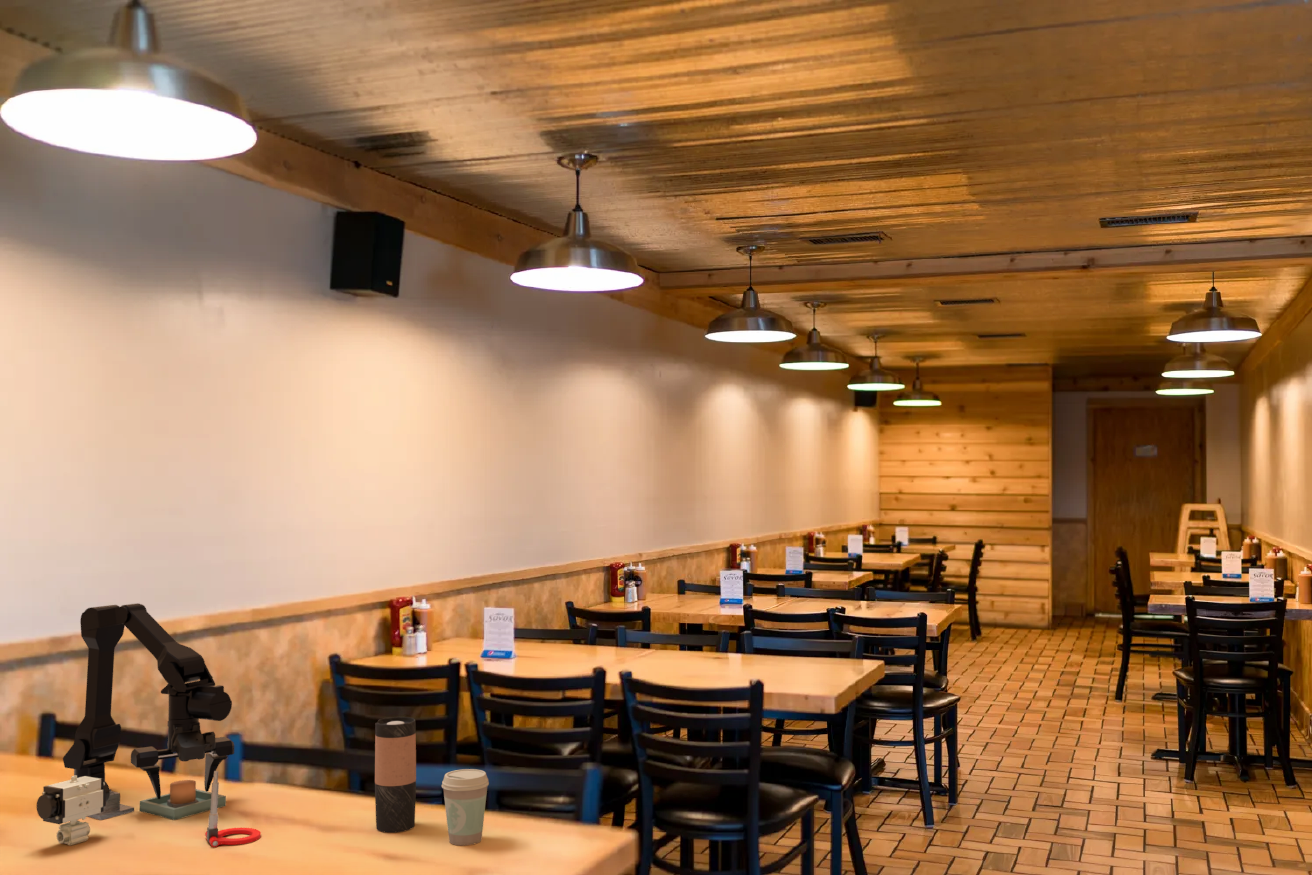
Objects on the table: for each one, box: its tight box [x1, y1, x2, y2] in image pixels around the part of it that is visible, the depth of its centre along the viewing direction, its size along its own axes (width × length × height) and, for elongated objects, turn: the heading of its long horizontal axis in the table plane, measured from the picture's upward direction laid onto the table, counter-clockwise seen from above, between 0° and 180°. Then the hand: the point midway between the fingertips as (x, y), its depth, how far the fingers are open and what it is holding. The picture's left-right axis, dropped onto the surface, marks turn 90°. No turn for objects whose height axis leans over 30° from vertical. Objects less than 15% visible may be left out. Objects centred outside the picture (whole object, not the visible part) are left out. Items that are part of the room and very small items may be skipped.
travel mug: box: [374, 716, 417, 834], centre depth 218 cm, size 8×8×20 cm
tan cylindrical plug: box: [167, 779, 199, 808], centre depth 231 cm, size 5×5×4 cm
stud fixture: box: [87, 790, 135, 821], centre depth 228 cm, size 7×7×4 cm
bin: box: [139, 788, 227, 821], centre depth 231 cm, size 12×12×2 cm
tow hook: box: [204, 770, 262, 848], centre depth 211 cm, size 8×13×9 cm
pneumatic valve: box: [36, 775, 110, 846], centre depth 210 cm, size 6×12×12 cm, turn 152°
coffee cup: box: [441, 768, 490, 846], centre depth 209 cm, size 9×9×12 cm
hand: (183, 794), depth 231 cm, fingers open, 9 cm apart
